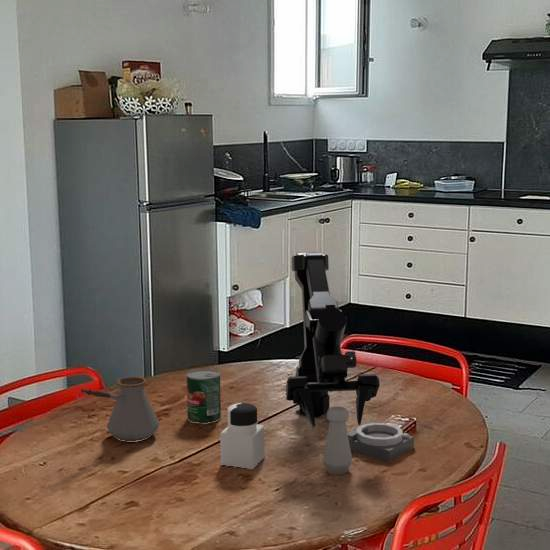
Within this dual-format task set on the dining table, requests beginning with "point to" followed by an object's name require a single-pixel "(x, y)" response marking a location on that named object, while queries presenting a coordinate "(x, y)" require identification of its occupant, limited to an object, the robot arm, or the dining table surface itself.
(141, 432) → the coffee pot
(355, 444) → the ringed square socket
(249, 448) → the medicine bottle
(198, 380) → the canned tomato
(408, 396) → the dining table surface
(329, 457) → the salt shaker
